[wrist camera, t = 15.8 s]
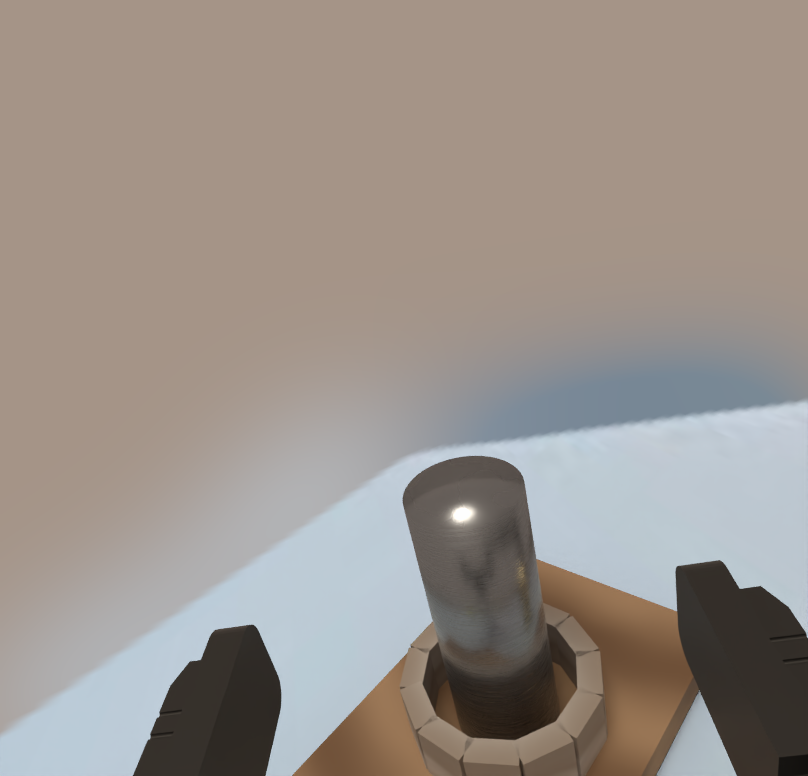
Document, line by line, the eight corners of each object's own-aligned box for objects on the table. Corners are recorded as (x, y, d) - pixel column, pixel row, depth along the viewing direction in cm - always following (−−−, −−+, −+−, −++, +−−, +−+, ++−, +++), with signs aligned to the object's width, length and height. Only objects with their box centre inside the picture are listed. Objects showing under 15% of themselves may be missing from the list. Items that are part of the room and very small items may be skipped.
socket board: (509, 567, 39) (500, 514, 37) (719, 650, 31) (719, 587, 29) (279, 820, 28) (251, 760, 26) (514, 1054, 20) (495, 988, 18)
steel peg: (494, 654, 31) (451, 446, 26) (578, 696, 28) (547, 471, 23) (438, 725, 29) (377, 507, 24) (524, 779, 26) (477, 544, 21)
